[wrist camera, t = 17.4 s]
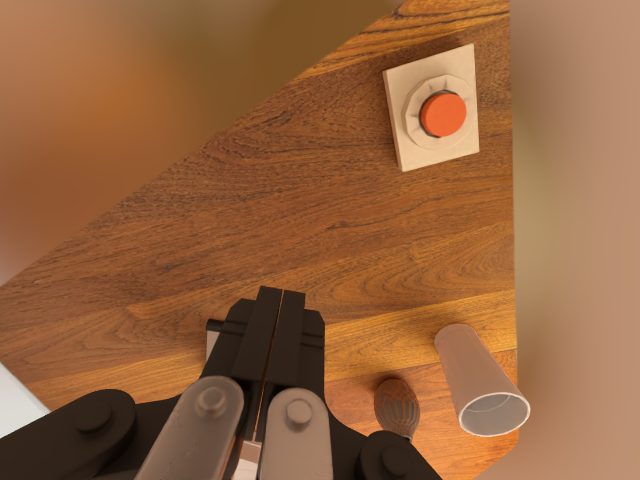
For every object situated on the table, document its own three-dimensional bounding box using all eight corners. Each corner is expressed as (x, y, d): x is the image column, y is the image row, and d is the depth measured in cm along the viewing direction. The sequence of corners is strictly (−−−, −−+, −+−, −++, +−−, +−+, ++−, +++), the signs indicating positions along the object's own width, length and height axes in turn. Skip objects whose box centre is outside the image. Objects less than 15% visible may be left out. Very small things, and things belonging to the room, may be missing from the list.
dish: (289, 493, 67) (286, 522, 62) (188, 487, 67) (177, 516, 62) (292, 430, 57) (289, 459, 52) (173, 423, 57) (159, 451, 52)
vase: (368, 399, 53) (376, 454, 45) (373, 371, 50) (382, 424, 42) (408, 401, 53) (423, 456, 45) (416, 373, 50) (433, 427, 42)
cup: (424, 325, 45) (455, 399, 34) (480, 313, 44) (530, 386, 33) (432, 362, 48) (462, 441, 38) (484, 353, 47) (530, 430, 37)
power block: (382, 71, 31) (389, 69, 27) (463, 45, 30) (482, 39, 26) (398, 167, 35) (406, 176, 31) (470, 148, 34) (487, 155, 30)
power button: (418, 99, 29) (423, 100, 27) (457, 88, 28) (465, 88, 27) (423, 138, 30) (428, 141, 29) (460, 128, 30) (468, 130, 28)
